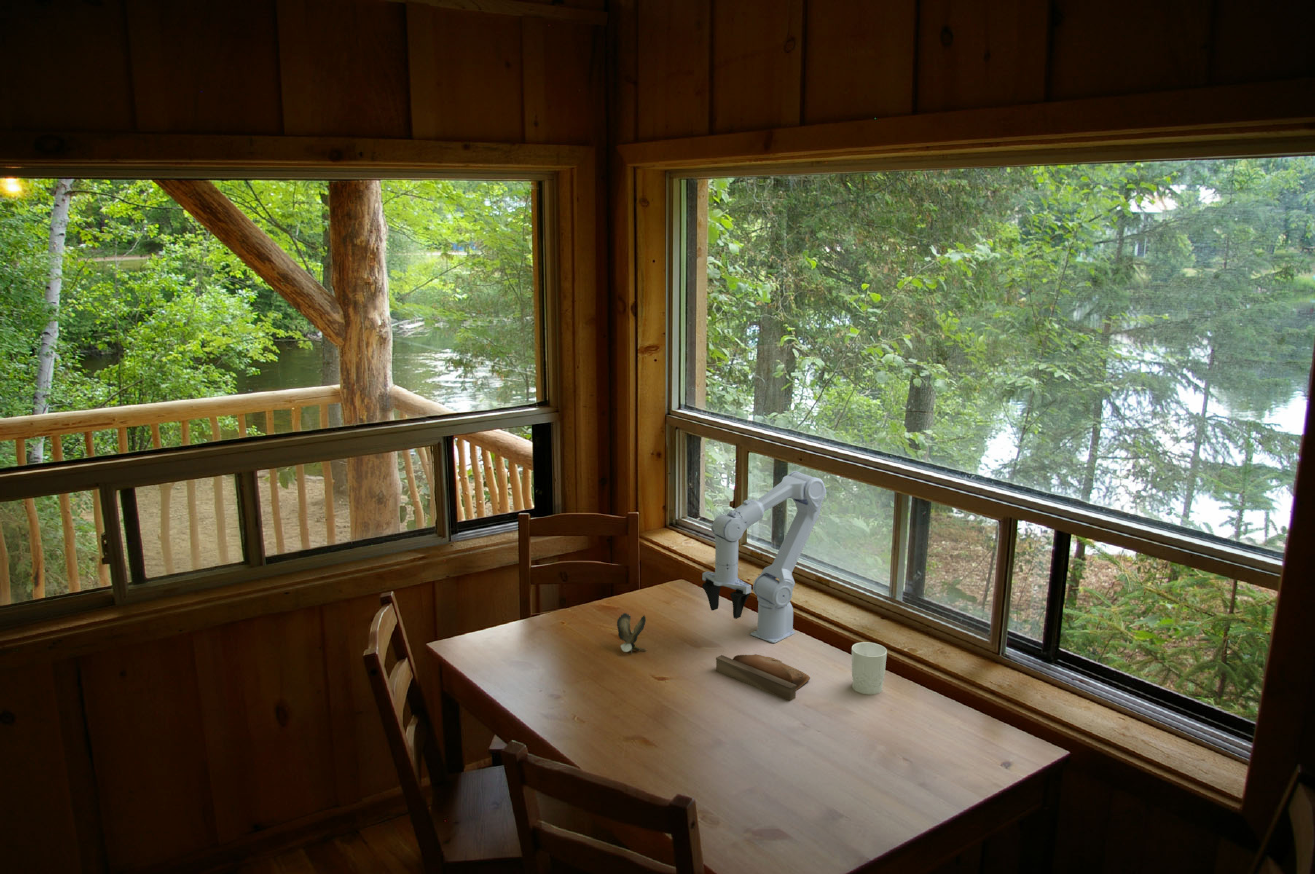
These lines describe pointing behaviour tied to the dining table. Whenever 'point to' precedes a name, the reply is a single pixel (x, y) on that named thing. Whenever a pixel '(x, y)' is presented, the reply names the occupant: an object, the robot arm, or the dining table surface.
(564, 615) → the dining table surface
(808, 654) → the dining table surface
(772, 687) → the walnut stop rail
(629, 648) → the eagle figurine
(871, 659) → the white cup
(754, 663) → the sunglasses case
